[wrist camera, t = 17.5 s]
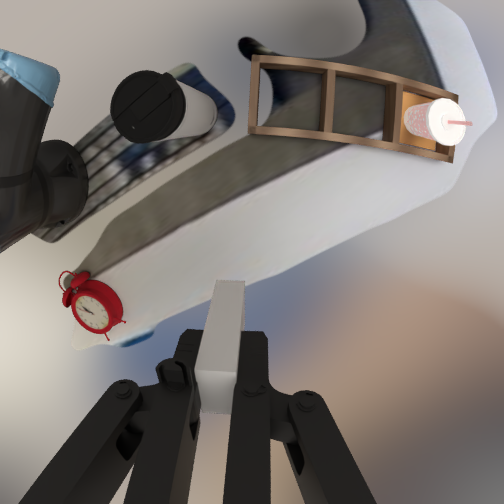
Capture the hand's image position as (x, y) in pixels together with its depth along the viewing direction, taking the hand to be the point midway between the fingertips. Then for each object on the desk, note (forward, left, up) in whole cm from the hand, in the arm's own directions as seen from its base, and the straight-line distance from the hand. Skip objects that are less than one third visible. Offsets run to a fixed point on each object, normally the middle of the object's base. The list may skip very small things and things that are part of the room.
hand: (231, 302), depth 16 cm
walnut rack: (+8, +17, -29) cm, 34 cm away
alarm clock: (-21, -30, -29) cm, 47 cm away
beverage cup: (+17, +21, -29) cm, 39 cm away
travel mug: (-12, +7, -29) cm, 32 cm away
